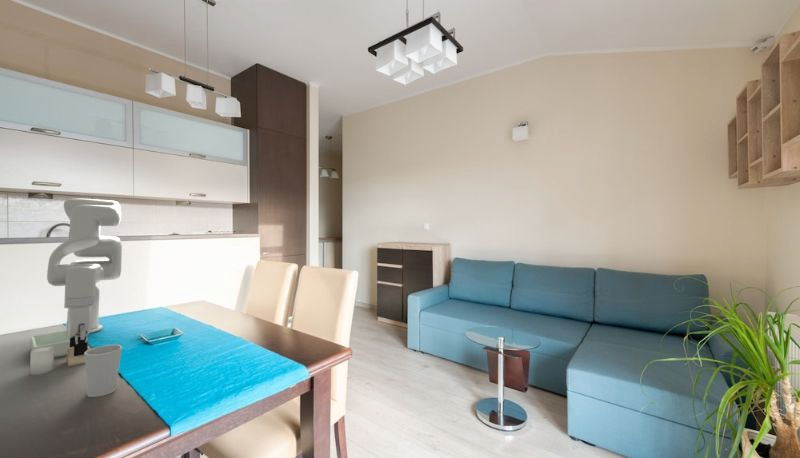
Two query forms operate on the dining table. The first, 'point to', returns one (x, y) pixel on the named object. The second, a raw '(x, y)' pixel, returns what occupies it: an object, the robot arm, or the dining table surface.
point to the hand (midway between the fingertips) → (78, 351)
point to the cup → (102, 369)
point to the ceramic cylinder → (41, 360)
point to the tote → (52, 342)
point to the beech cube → (74, 357)
